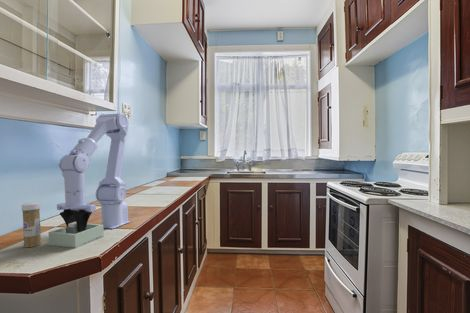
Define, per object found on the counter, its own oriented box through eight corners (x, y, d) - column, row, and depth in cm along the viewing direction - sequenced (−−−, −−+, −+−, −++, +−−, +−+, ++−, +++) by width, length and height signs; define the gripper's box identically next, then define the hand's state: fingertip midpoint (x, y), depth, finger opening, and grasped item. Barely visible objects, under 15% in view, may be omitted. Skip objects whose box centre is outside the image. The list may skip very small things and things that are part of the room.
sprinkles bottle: (19, 248, 83) (17, 204, 82) (31, 242, 87) (29, 201, 87) (34, 247, 82) (32, 204, 82) (45, 242, 87) (43, 201, 87)
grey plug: (77, 237, 90) (76, 221, 90) (85, 238, 89) (84, 221, 89) (66, 241, 86) (65, 224, 86) (74, 242, 85) (73, 224, 85)
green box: (79, 234, 95) (78, 222, 95) (103, 236, 92) (103, 224, 92) (49, 244, 85) (48, 232, 85) (75, 248, 81) (75, 234, 81)
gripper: (47, 192, 86) (49, 234, 87) (81, 193, 82) (83, 237, 82) (67, 189, 93) (68, 228, 93) (100, 190, 88) (101, 231, 89)
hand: (77, 232), depth 88 cm, fingers closed on grey plug, 3 cm apart
